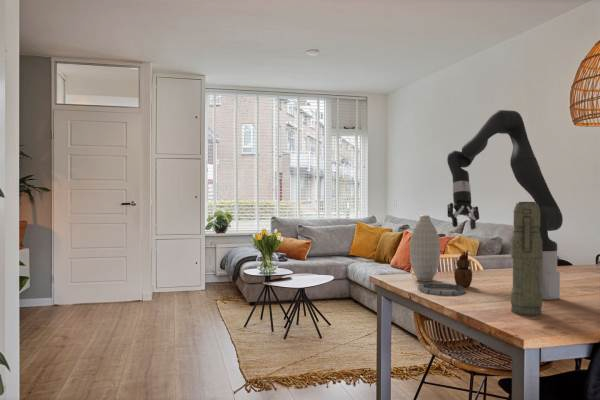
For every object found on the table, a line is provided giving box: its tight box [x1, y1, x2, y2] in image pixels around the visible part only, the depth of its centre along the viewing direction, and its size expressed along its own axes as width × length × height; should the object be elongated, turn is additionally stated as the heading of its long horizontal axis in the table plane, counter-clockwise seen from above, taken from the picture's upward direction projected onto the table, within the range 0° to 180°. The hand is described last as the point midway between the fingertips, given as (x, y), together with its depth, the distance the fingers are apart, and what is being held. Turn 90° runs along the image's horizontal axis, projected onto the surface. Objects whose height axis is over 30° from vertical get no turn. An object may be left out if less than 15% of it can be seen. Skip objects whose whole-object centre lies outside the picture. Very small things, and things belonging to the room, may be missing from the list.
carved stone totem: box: [510, 201, 543, 317], centre depth 150 cm, size 9×12×35 cm
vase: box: [409, 214, 441, 282], centre depth 207 cm, size 13×13×28 cm
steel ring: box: [417, 282, 466, 296], centre depth 184 cm, size 17×17×2 cm
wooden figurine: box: [453, 249, 473, 288], centre depth 193 cm, size 7×6×15 cm
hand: (464, 228), depth 206 cm, fingers open, 8 cm apart
